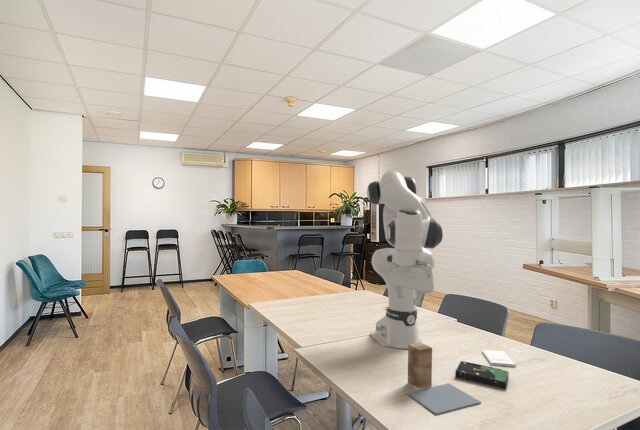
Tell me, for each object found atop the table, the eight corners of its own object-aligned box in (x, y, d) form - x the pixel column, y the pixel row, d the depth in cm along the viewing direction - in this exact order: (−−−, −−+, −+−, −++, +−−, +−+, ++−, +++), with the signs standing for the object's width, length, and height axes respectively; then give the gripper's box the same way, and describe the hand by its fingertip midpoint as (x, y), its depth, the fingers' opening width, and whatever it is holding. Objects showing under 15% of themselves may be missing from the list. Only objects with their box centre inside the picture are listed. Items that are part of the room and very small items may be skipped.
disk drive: (455, 379, 115) (506, 391, 108) (455, 370, 115) (506, 381, 108) (460, 368, 124) (508, 378, 116) (460, 360, 124) (508, 369, 117)
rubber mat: (406, 393, 104) (406, 392, 104) (449, 384, 110) (449, 383, 110) (435, 415, 93) (435, 413, 93) (480, 403, 99) (480, 401, 99)
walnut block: (407, 383, 110) (408, 344, 111) (420, 380, 112) (421, 342, 113) (418, 390, 106) (418, 350, 106) (431, 387, 108) (432, 347, 108)
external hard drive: (504, 355, 137) (516, 368, 124) (481, 353, 138) (490, 366, 126) (504, 351, 137) (516, 364, 124) (481, 349, 138) (490, 362, 126)
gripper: (439, 262, 107) (438, 308, 107) (397, 255, 126) (397, 294, 126) (422, 263, 105) (421, 310, 105) (382, 256, 123) (382, 296, 123)
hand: (407, 301), depth 115 cm, fingers open, 7 cm apart
